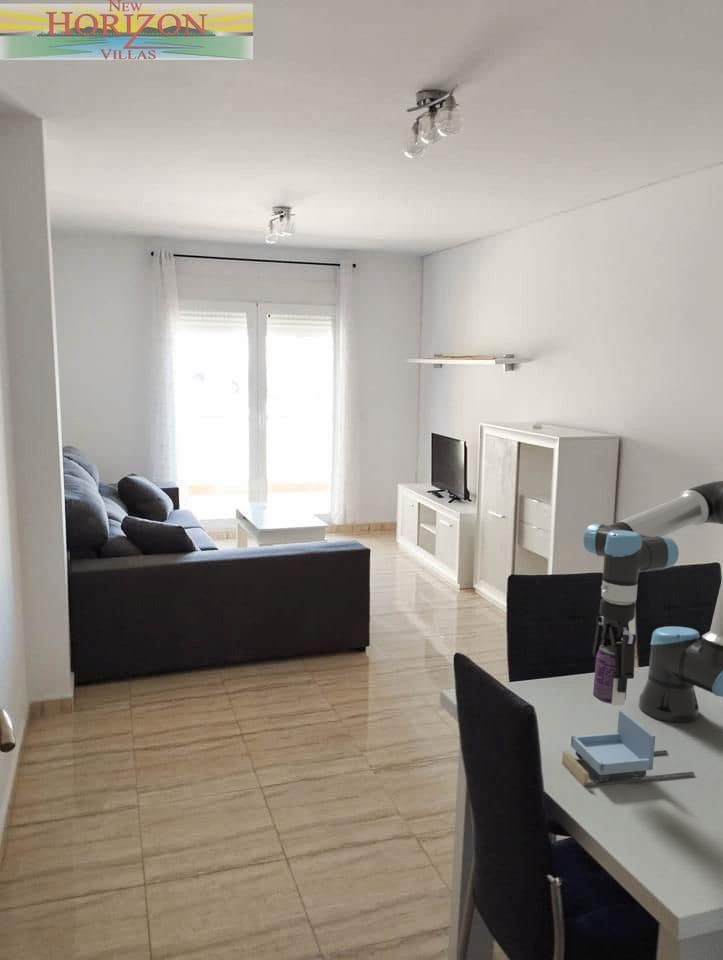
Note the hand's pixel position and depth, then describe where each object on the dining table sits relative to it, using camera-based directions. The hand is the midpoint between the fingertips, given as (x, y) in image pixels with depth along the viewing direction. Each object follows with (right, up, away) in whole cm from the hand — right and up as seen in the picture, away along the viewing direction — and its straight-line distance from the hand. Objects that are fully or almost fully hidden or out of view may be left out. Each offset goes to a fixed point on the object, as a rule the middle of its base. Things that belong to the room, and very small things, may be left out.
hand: (609, 696), depth 173 cm
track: (+5, -17, +3) cm, 18 cm away
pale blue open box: (+1, -17, +2) cm, 18 cm away
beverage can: (0, -1, 0) cm, 1 cm away
